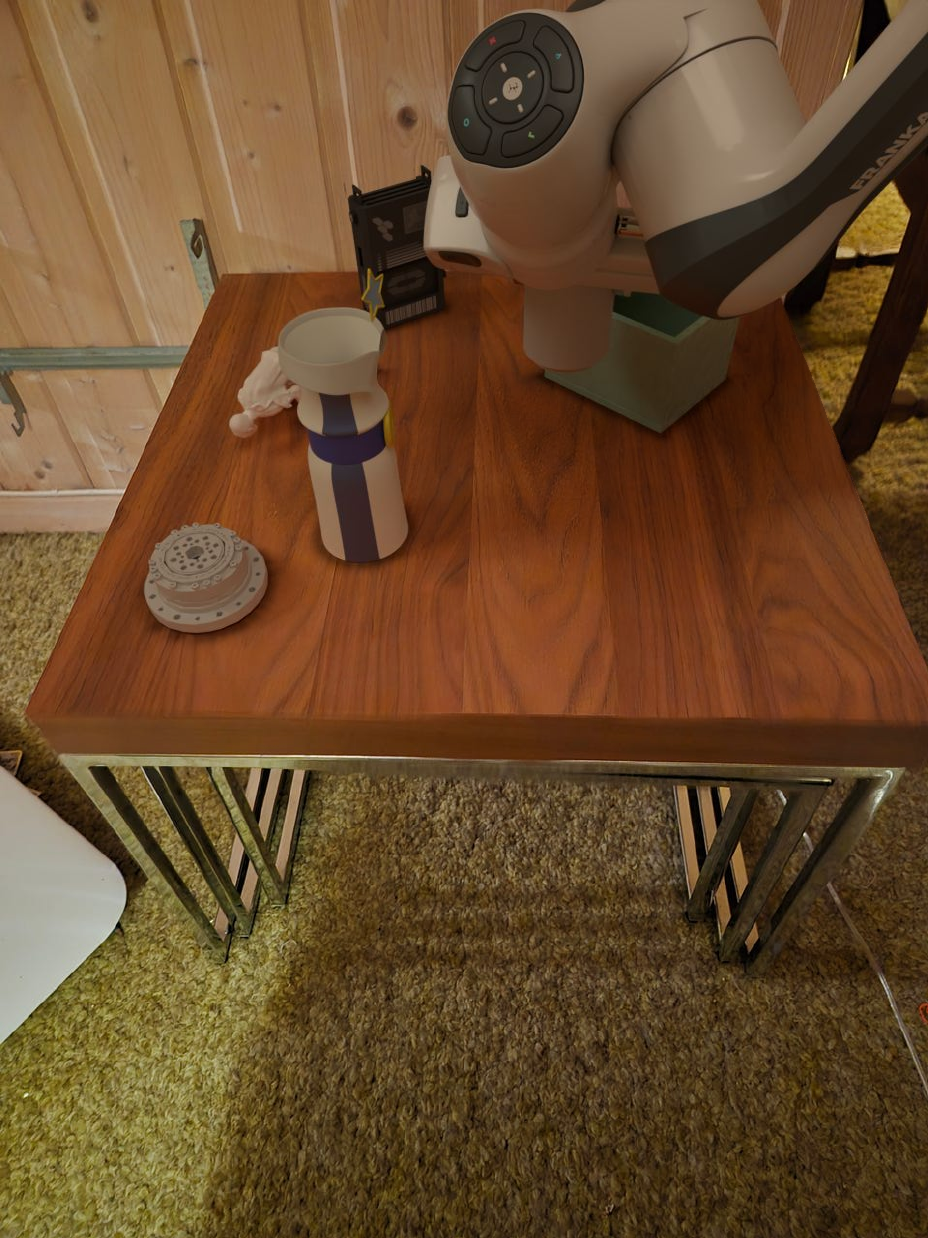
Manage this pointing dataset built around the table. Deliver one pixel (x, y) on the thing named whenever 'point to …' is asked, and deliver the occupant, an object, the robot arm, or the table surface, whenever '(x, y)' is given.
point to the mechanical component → (204, 579)
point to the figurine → (263, 394)
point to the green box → (655, 360)
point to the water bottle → (347, 426)
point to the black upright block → (396, 249)
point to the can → (567, 326)
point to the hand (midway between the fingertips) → (570, 280)
